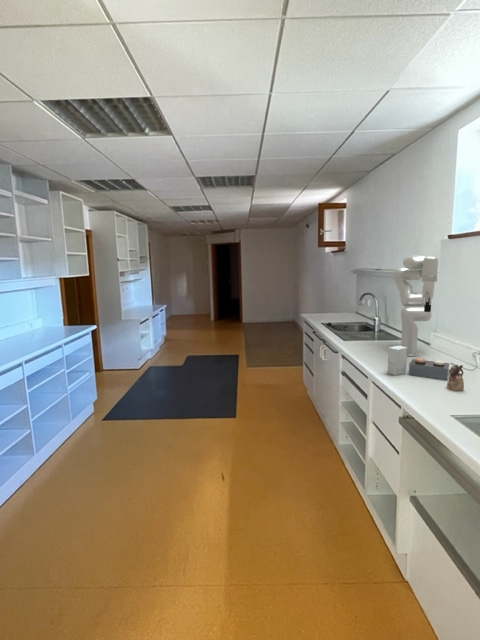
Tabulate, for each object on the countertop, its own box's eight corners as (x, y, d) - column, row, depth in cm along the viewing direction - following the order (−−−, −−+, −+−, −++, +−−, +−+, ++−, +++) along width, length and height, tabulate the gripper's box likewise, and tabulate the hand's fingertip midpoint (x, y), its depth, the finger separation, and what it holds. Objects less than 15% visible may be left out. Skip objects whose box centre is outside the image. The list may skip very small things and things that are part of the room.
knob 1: (415, 370, 201) (416, 357, 199) (425, 371, 198) (426, 358, 197) (413, 372, 196) (414, 359, 195) (424, 374, 194) (425, 360, 193)
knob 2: (433, 372, 196) (434, 359, 194) (444, 374, 193) (445, 360, 192) (432, 375, 192) (433, 361, 190) (443, 376, 189) (444, 362, 188)
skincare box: (397, 370, 202) (398, 345, 200) (406, 373, 197) (407, 347, 195) (386, 373, 199) (387, 346, 196) (395, 376, 193) (396, 349, 191)
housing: (412, 369, 205) (412, 358, 204) (448, 373, 195) (449, 363, 194) (408, 374, 195) (409, 364, 194) (447, 380, 185) (447, 368, 184)
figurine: (446, 385, 178) (448, 361, 176) (463, 387, 174) (465, 363, 172) (446, 389, 172) (447, 365, 170) (463, 392, 168) (465, 367, 166)
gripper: (423, 278, 210) (421, 309, 212) (420, 279, 197) (418, 313, 200) (438, 278, 206) (436, 310, 208) (435, 279, 193) (433, 313, 196)
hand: (427, 311), depth 204 cm, fingers closed
